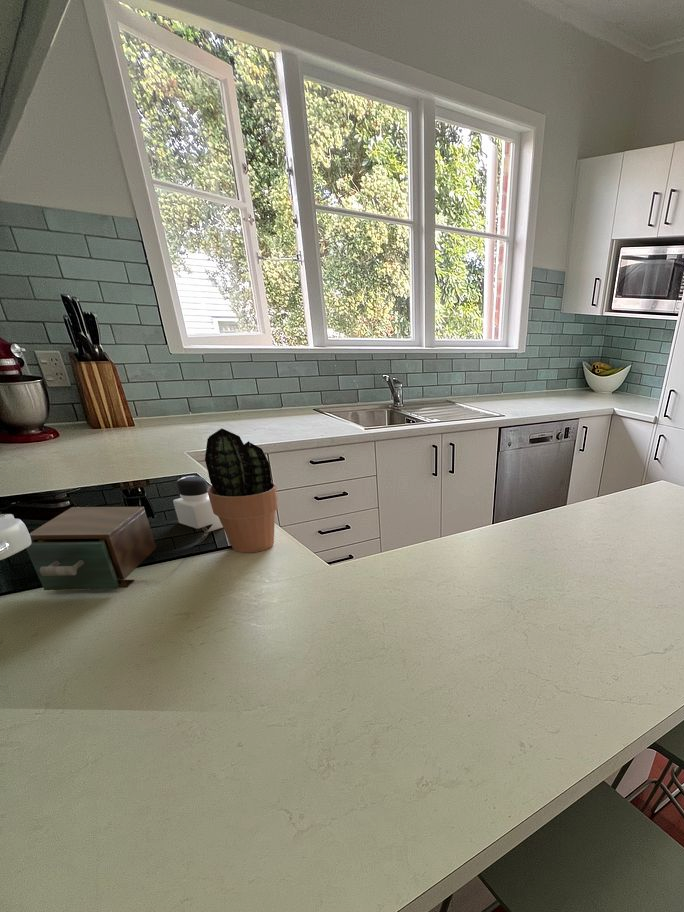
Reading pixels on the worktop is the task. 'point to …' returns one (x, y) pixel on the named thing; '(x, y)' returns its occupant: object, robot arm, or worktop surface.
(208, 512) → the medicine bottle
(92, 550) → the drawer
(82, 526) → the cabinet
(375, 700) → the worktop surface
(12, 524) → the robot arm
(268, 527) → the potted plant
